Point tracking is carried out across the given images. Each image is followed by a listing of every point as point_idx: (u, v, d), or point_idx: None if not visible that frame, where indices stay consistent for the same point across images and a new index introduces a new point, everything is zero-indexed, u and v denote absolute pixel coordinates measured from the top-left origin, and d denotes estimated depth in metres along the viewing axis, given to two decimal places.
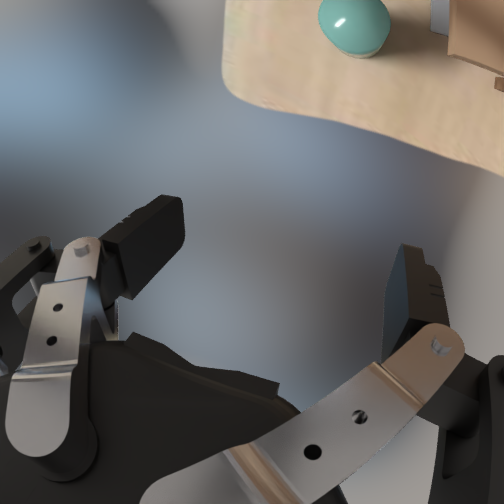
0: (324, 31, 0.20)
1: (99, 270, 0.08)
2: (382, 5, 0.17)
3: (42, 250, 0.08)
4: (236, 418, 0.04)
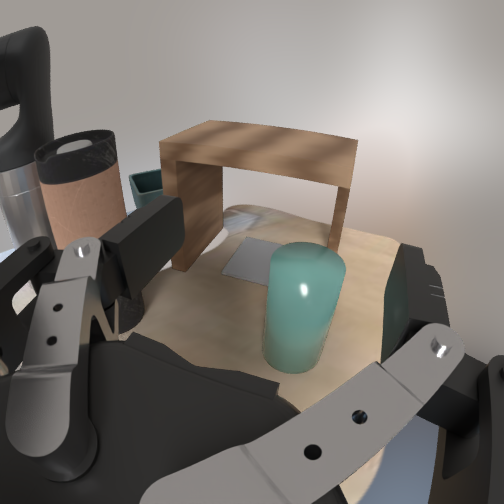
0: (322, 286, 0.22)
1: (99, 270, 0.08)
2: (294, 243, 0.27)
3: (42, 250, 0.08)
4: (236, 418, 0.04)
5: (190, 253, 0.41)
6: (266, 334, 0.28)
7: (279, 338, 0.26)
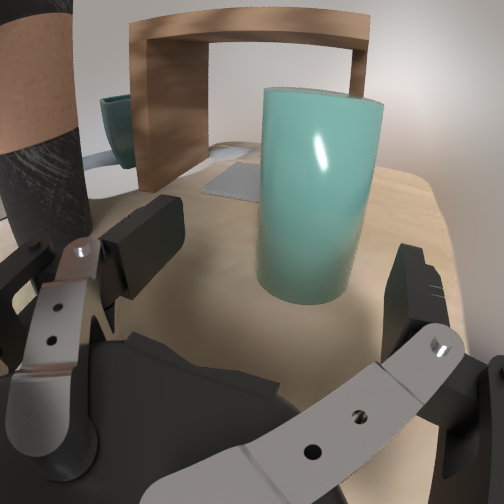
0: (353, 103, 0.12)
1: (99, 270, 0.08)
2: None
3: (42, 250, 0.08)
4: (236, 418, 0.04)
5: (162, 169, 0.30)
6: (261, 231, 0.17)
7: (283, 226, 0.15)
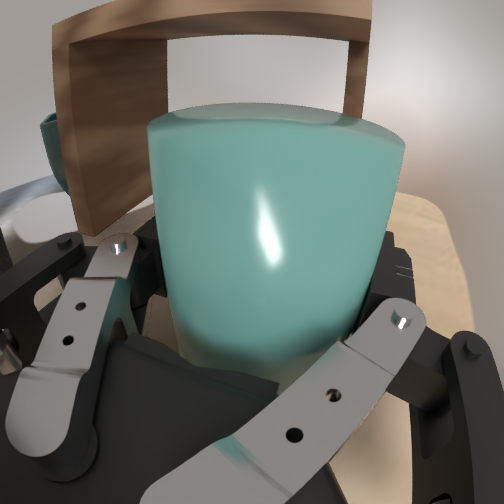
0: (331, 154, 0.05)
1: (133, 270, 0.08)
2: (244, 103, 0.09)
3: (74, 247, 0.08)
4: (236, 418, 0.04)
5: (103, 206, 0.23)
6: None
7: None
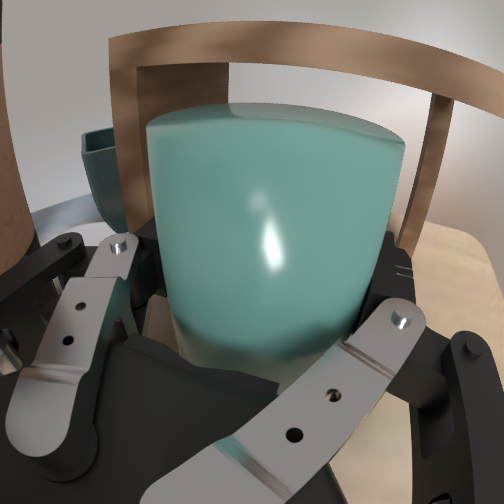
0: (331, 154, 0.05)
1: (133, 270, 0.08)
2: (243, 103, 0.09)
3: (74, 247, 0.08)
4: (236, 418, 0.04)
5: None
6: (179, 353, 0.10)
7: None
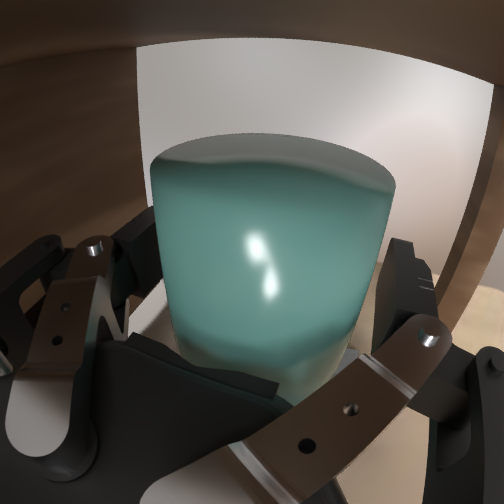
0: (322, 209, 0.05)
1: (110, 269, 0.08)
2: (242, 134, 0.10)
3: (52, 248, 0.08)
4: (236, 418, 0.04)
5: None
6: None
7: None
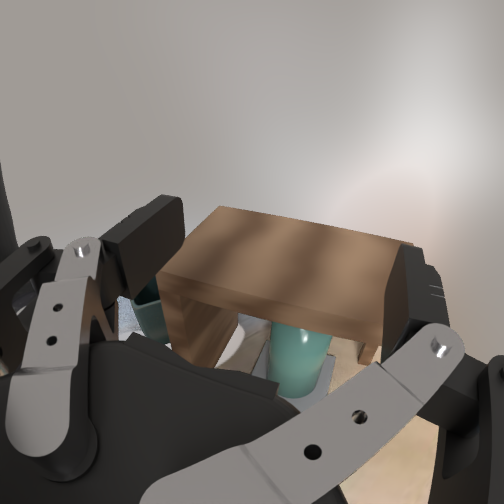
0: None
1: (99, 270, 0.08)
2: None
3: (42, 250, 0.08)
4: (236, 418, 0.04)
5: None
6: (269, 365, 0.31)
7: (280, 369, 0.30)
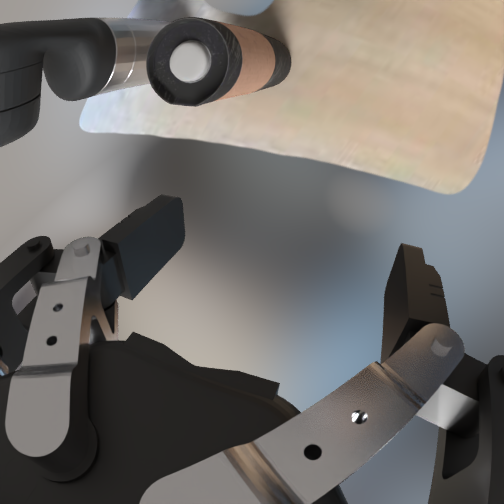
0: None
1: (99, 270, 0.08)
2: None
3: (42, 250, 0.08)
4: (236, 418, 0.04)
5: None
6: None
7: None
